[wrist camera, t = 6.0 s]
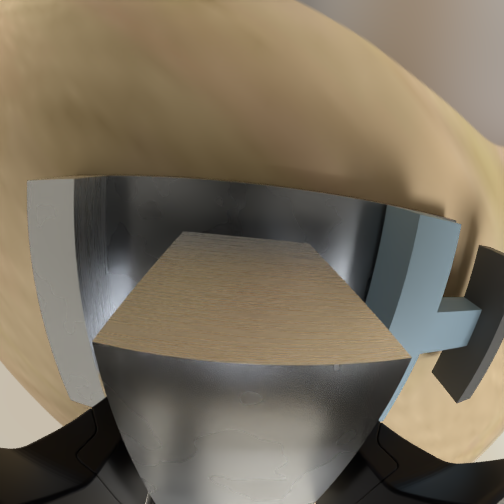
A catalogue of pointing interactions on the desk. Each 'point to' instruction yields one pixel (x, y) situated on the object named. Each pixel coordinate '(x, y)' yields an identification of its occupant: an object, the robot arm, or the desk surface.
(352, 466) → the robot arm
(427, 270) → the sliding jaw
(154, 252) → the vise base
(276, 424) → the steel block
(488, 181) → the desk surface
